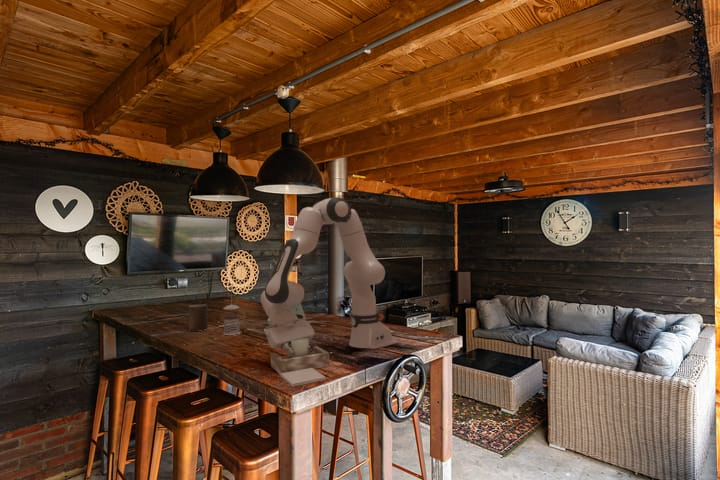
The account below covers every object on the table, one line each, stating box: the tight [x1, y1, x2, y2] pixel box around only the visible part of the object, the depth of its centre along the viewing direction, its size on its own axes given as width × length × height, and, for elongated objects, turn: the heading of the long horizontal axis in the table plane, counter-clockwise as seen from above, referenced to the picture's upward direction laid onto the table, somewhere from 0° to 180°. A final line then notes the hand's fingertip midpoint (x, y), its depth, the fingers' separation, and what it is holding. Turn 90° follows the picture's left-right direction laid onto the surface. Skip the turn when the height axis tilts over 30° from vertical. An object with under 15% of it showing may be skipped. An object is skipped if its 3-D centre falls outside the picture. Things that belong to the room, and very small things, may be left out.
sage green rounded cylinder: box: [290, 338, 309, 358], centre depth 148 cm, size 6×6×10 cm
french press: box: [222, 286, 246, 336], centre depth 205 cm, size 10×12×25 cm
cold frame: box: [270, 345, 330, 376], centre depth 148 cm, size 19×12×5 cm, turn 120°
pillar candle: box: [188, 303, 208, 331], centre depth 214 cm, size 10×10×15 cm
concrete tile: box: [280, 368, 326, 388], centre depth 135 cm, size 12×12×1 cm
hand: (300, 351), depth 148 cm, fingers closed on sage green rounded cylinder, 6 cm apart
